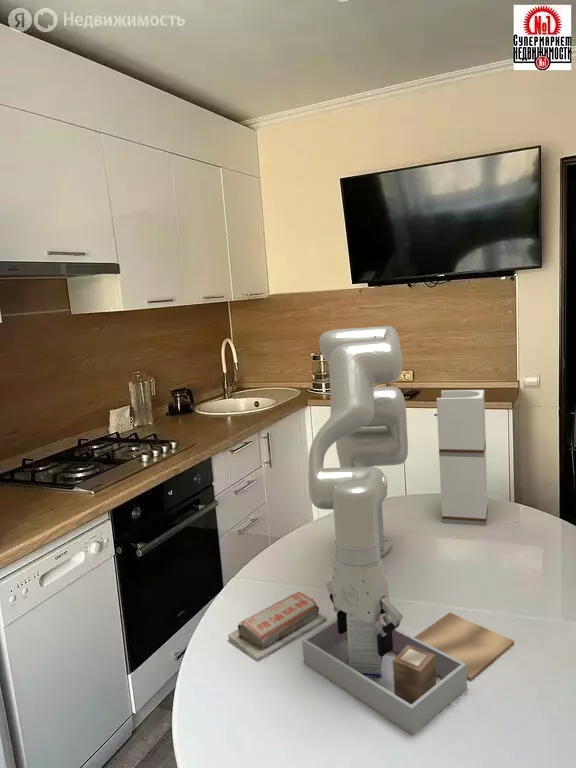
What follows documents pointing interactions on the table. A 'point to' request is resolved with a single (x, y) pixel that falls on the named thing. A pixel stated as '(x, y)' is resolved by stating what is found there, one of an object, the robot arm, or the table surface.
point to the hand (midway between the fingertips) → (364, 641)
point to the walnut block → (413, 673)
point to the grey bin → (378, 696)
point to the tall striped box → (462, 456)
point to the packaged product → (277, 626)
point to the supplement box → (363, 647)
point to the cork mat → (466, 642)
